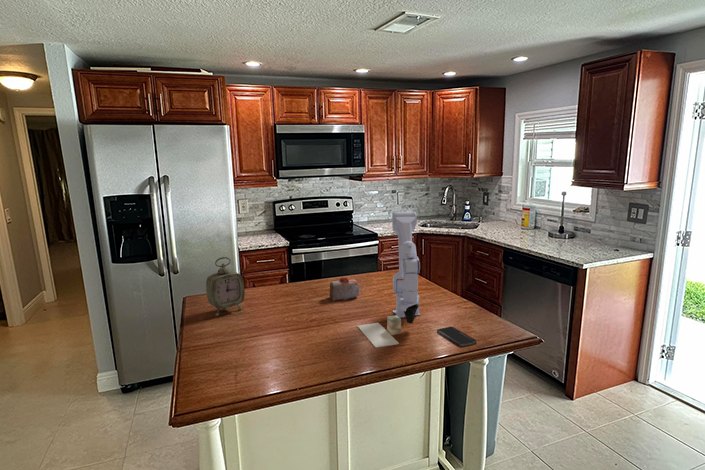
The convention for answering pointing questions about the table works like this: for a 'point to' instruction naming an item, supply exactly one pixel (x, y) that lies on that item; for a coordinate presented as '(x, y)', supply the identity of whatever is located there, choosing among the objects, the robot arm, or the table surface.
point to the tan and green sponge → (394, 325)
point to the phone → (456, 336)
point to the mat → (377, 335)
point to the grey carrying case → (344, 289)
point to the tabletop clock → (225, 288)
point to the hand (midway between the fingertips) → (409, 322)
